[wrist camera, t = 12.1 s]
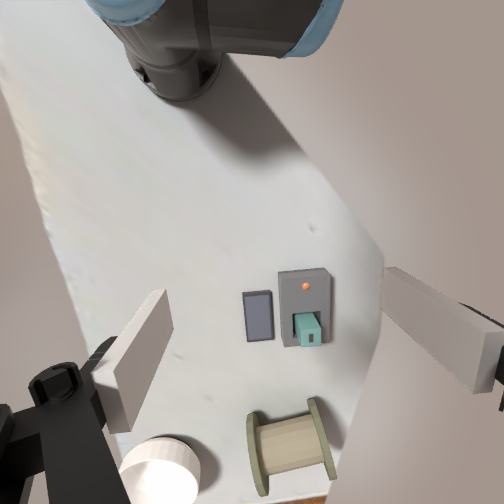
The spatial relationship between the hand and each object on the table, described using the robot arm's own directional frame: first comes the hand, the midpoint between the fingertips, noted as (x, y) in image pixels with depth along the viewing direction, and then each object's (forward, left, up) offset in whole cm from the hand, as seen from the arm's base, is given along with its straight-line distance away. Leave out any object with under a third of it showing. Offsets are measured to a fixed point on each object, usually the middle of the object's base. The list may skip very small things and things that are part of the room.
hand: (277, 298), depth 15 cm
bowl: (+61, -27, -37) cm, 77 cm away
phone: (+23, 0, -37) cm, 43 cm away
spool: (+53, +4, -37) cm, 65 cm away
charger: (+24, +10, -36) cm, 44 cm away
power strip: (+21, +10, -37) cm, 43 cm away
